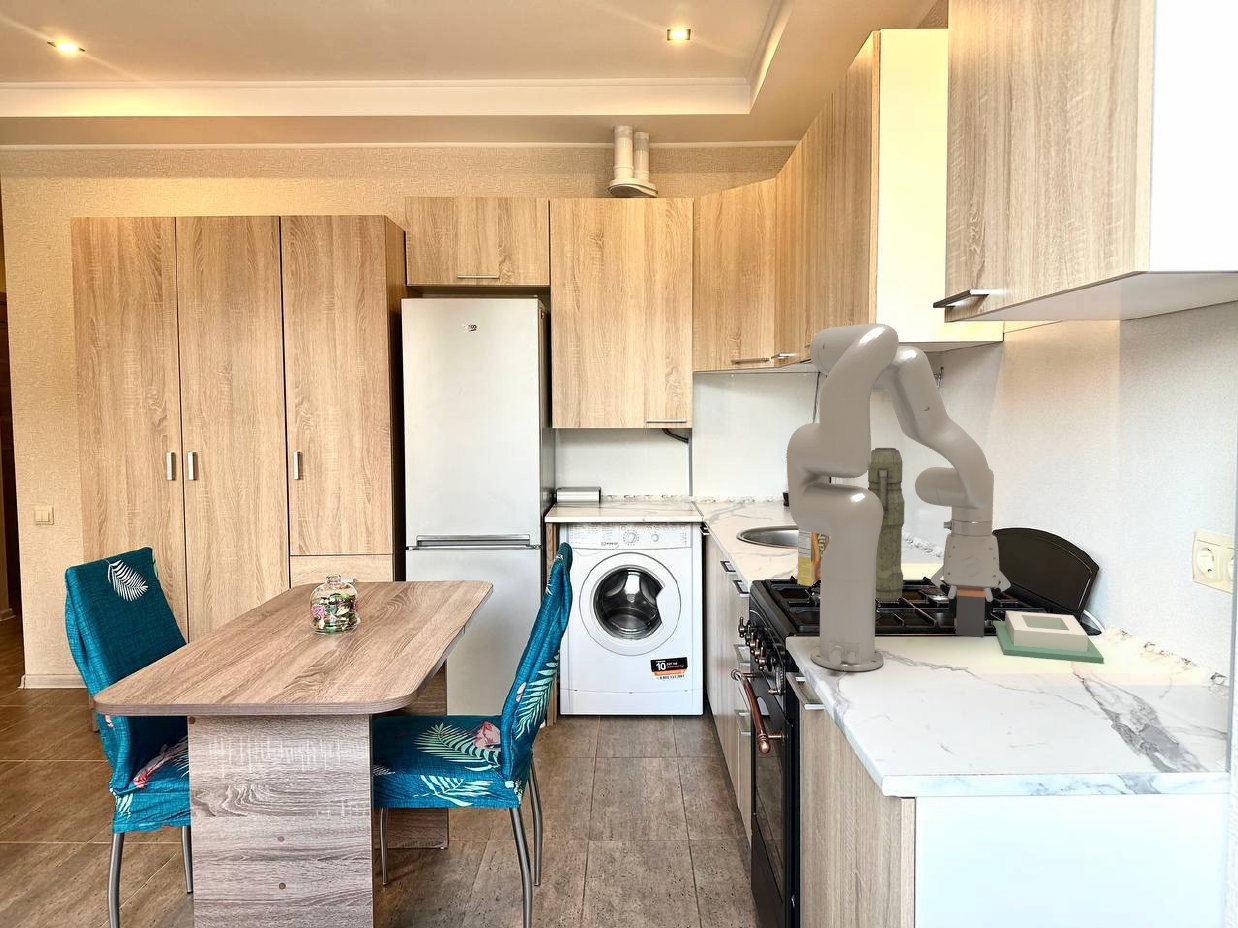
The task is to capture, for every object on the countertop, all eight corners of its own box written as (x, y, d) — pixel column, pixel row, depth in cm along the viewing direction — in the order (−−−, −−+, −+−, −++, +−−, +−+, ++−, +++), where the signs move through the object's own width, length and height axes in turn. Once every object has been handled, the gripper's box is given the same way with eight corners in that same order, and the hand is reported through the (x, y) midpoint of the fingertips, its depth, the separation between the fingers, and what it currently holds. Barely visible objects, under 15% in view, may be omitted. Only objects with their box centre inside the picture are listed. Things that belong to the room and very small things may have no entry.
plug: (983, 637, 161) (985, 592, 160) (956, 635, 162) (957, 590, 161) (980, 627, 167) (981, 584, 166) (954, 625, 169) (955, 582, 168)
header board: (1103, 663, 145) (1104, 641, 144) (1003, 654, 150) (1004, 633, 150) (1080, 631, 163) (1081, 612, 163) (992, 625, 169) (993, 606, 168)
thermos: (901, 592, 197) (904, 447, 194) (903, 604, 186) (907, 450, 183) (863, 589, 200) (865, 446, 197) (863, 601, 188) (865, 449, 185)
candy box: (814, 578, 212) (815, 519, 211) (829, 580, 210) (830, 521, 208) (796, 584, 206) (797, 524, 205) (811, 587, 203) (812, 525, 202)
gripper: (926, 529, 162) (924, 619, 164) (1021, 533, 157) (1018, 626, 158) (925, 523, 169) (923, 610, 171) (1016, 527, 164) (1013, 616, 165)
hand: (969, 617), depth 164 cm, fingers closed on plug, 5 cm apart
